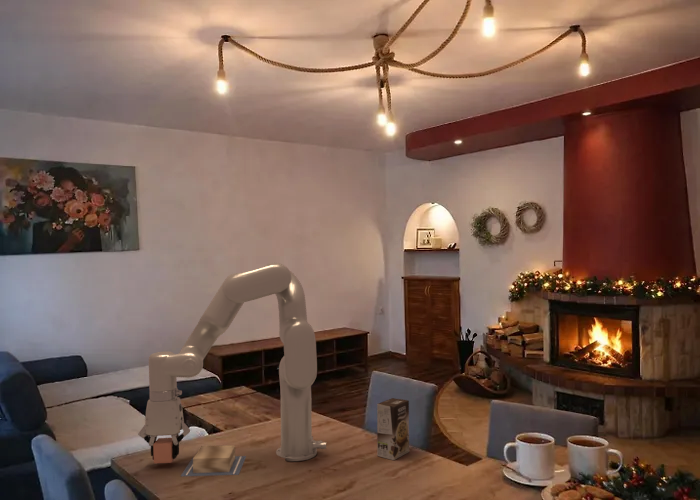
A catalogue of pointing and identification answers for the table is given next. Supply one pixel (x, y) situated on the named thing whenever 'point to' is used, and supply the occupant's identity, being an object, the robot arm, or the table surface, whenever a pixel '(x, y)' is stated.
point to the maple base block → (214, 459)
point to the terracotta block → (163, 450)
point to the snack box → (392, 428)
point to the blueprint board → (233, 471)
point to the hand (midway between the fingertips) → (165, 457)
